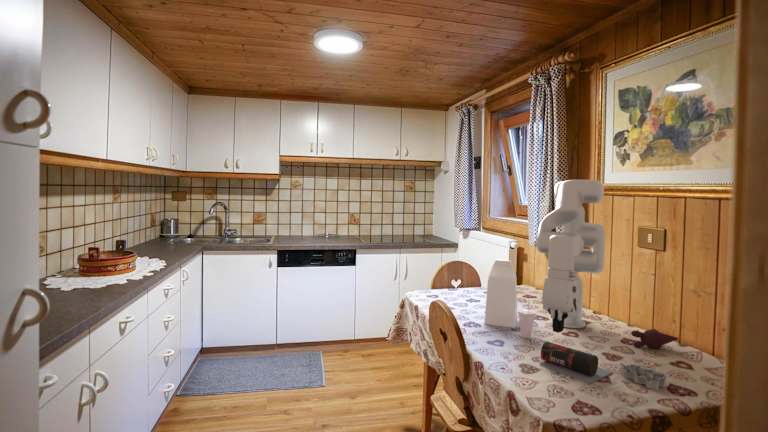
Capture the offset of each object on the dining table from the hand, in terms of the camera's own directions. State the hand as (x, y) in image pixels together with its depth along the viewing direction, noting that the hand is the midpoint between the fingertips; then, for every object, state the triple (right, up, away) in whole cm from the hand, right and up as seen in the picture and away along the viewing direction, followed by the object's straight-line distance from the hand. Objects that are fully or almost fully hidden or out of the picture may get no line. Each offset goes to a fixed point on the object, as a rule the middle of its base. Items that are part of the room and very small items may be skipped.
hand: (557, 331), depth 130 cm
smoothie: (-2, -9, +24) cm, 25 cm away
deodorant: (-4, -7, +2) cm, 8 cm away
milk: (-6, -8, +42) cm, 43 cm away
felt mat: (+4, -10, -4) cm, 12 cm away
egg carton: (+20, -12, -11) cm, 26 cm away
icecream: (+41, -10, +15) cm, 45 cm away
